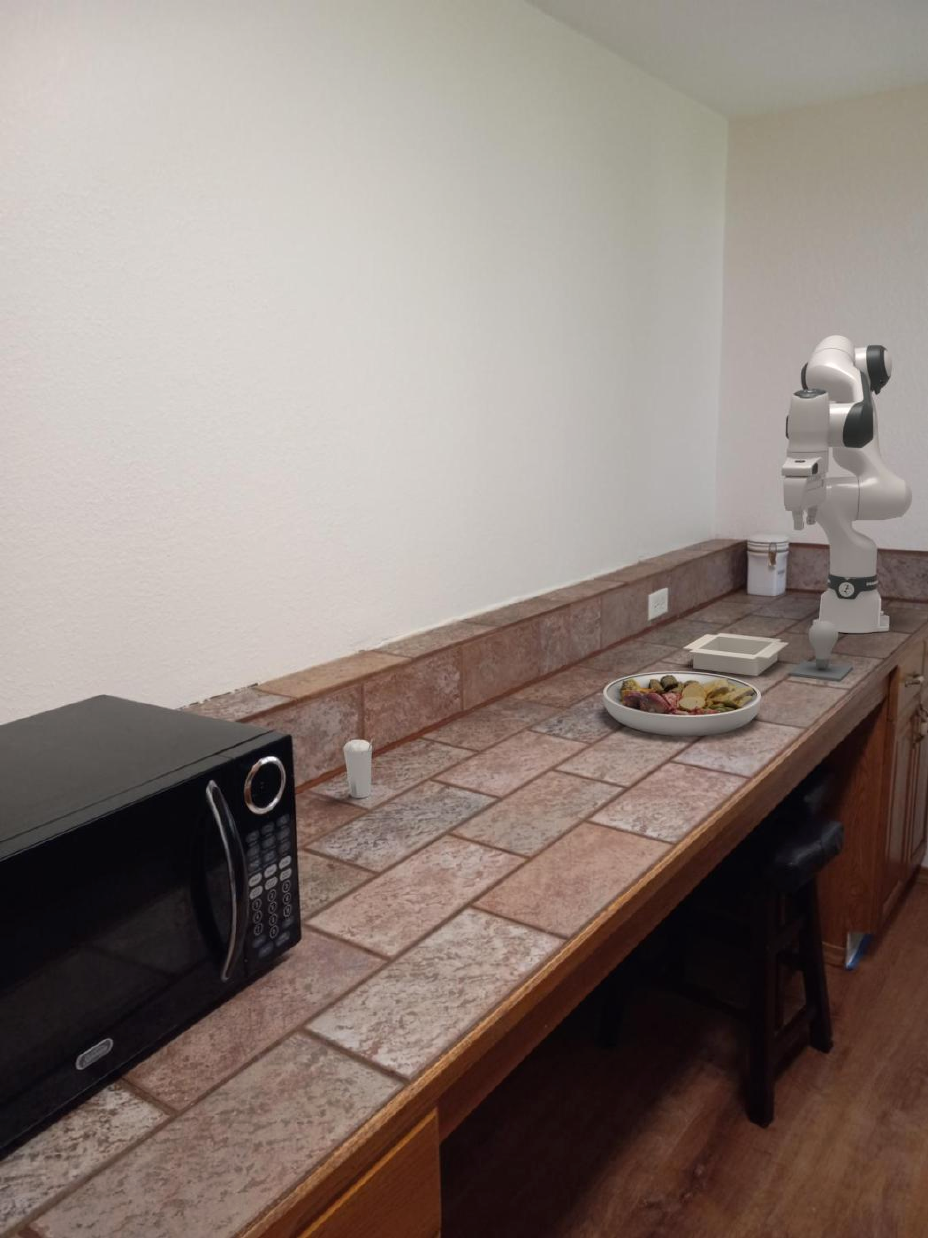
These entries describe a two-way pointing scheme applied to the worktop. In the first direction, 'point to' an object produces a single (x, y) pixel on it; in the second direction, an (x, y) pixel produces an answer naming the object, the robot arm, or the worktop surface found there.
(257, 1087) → the worktop surface
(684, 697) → the bowl
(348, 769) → the milkshake
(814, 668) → the mat
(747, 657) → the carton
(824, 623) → the lightbulb
